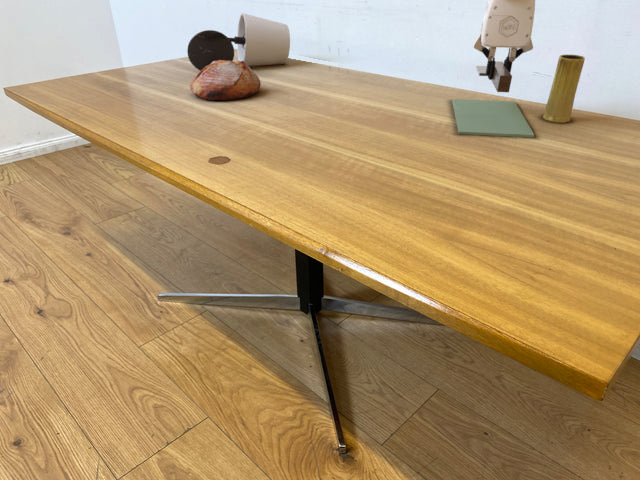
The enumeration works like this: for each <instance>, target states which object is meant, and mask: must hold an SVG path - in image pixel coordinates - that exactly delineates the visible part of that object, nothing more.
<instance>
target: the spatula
mask: <svg viewBox="0 0 640 480" xmlns="http://www.w3.org/2000/svg"><path fill="white" fill-rule="evenodd" d="M495 62H496V63H495V68H494V73H493V79H492V80H491V83H492V84H493V86H494V88H495V90H496V92H497V93H509V92H510V89H511V84H512V78H513V75H512V74H511V72H509V71H508V69H507V68H506V66H505V65H504V61H499V60H498V61H497V60H495ZM486 68H487V65H475V69H476V72H477V74H478V76H479V77H488V75H486Z"/></svg>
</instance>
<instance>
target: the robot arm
mask: <svg viewBox="0 0 640 480" xmlns="http://www.w3.org/2000/svg"><path fill="white" fill-rule="evenodd" d="M535 10H536V0H488V1H487V4H486V7H485V11H484V16H483V20H482V24H481V29H480V33H479V34H478V36H477V38H476V39H475V41H474V43H473V48H474V49H475V50H477V51H479V52H481V53H482V54H483V55H484V56H485V58H487V63H486V66H487V68H486V75H488V76H487V78H488V80H490V81H492V79H493V73H494V68H495V63H496V62H495V61H496V58H495V57H496V52H497V48H508V49H507V56H505V59H504V60H503V63H504V65H505V66H506V68H507V69H508V71H509V72H510V73H511V72H512V68H513V67H512V66H513V62H515V60H516V59H518V58H519V57H520V56H521V55H522V54H524V53H527V52H529V51H532V50H533V48H534V45H533V44H534V43H533V41H532V34H533V33H532V32H533V26H534V20H535Z"/></svg>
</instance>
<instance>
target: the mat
mask: <svg viewBox="0 0 640 480" xmlns="http://www.w3.org/2000/svg"><path fill="white" fill-rule="evenodd" d="M451 102H452V108H453V112H454V117H455V122H456V123H455V124H456V126H457V132H458V135H468V136H469V135H471V136H489V137H490V136H492V137H509V138H511V137H514V138H515V137H516V138H535V137H536V136H535V133H534V132H533V130H532V128H531V126H530V125H529V123H528V121H527V119H526V118H525V116H524V115H523V113H522V111H521V109H520V107H519V106H518V104H517V103H516V101H515V100H488V99H487V100H486V99H461V98H460V99H459V98H452V99H451Z"/></svg>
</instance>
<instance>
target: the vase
mask: <svg viewBox="0 0 640 480" xmlns="http://www.w3.org/2000/svg"><path fill="white" fill-rule="evenodd" d="M585 58H586V57H585V56H583V55H579V54H561V55H559V56H558V60H557V64H556V69H555V73H554V77H553V80H552V84H551V87H550V92H549V94H548V99H547V102H546V105H545V108H544V109H545V110H544V113H543V115H542V118H543V119H544V120H545V121H547V122H551V123H558V124H563V123H568V122H570V121H571V117H572V112H573V107H574V102H575V97H576V93H577V90H578V86H579V82H580V79H581V75H582V73H583V68H584V64H585Z"/></svg>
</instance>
